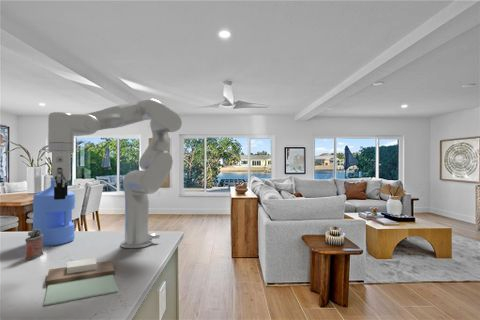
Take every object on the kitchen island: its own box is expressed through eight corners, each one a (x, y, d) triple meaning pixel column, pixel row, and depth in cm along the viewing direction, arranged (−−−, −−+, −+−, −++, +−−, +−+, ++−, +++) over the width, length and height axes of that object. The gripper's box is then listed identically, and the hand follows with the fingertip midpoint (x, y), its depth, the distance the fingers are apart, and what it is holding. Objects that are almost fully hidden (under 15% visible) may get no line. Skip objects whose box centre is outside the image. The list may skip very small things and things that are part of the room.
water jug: (22, 245, 124) (23, 178, 124) (54, 236, 139) (54, 176, 139) (54, 247, 120) (55, 179, 120) (82, 238, 136) (83, 177, 136)
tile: (95, 263, 98) (95, 258, 98) (96, 269, 93) (96, 263, 93) (67, 267, 94) (67, 261, 95) (66, 273, 89) (67, 267, 89)
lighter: (36, 253, 113) (36, 227, 113) (45, 253, 113) (45, 227, 113) (22, 260, 105) (22, 232, 105) (32, 260, 105) (32, 232, 105)
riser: (111, 265, 101) (111, 260, 101) (114, 275, 92) (114, 270, 92) (48, 274, 93) (49, 269, 93) (46, 286, 84) (46, 280, 84)
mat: (113, 275, 92) (113, 274, 92) (118, 291, 81) (118, 290, 81) (48, 286, 84) (48, 284, 84) (43, 306, 72) (43, 304, 72)
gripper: (72, 147, 97) (72, 200, 97) (74, 149, 112) (74, 194, 112) (44, 147, 93) (44, 201, 94) (51, 148, 109) (51, 195, 109)
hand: (61, 197), depth 103 cm, fingers open, 9 cm apart
